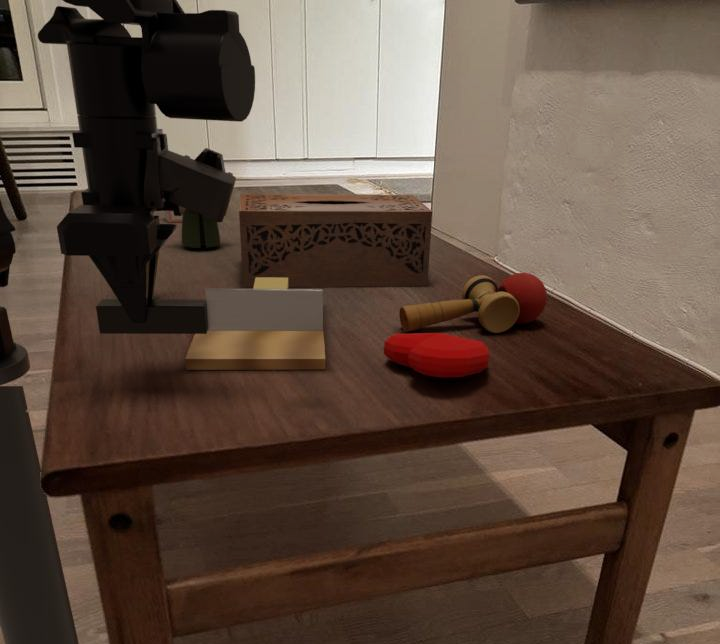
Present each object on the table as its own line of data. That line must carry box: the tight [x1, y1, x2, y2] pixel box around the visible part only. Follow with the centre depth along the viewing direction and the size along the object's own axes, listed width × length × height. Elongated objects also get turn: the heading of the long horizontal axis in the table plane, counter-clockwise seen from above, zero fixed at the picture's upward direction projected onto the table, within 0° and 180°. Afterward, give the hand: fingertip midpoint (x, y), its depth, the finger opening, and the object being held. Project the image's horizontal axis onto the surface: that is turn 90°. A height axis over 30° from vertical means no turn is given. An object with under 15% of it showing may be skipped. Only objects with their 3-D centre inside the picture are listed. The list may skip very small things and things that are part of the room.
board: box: [184, 330, 327, 371], centre depth 84 cm, size 14×22×1 cm, turn 4°
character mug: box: [181, 208, 221, 249], centre depth 119 cm, size 11×7×13 cm, turn 106°
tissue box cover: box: [238, 193, 433, 289], centre depth 106 cm, size 26×14×10 cm, turn 97°
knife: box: [95, 287, 324, 335], centre depth 63 cm, size 19×2×4 cm, turn 94°
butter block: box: [252, 277, 290, 289], centre depth 88 cm, size 4×7×3 cm, turn 4°
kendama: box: [398, 272, 548, 334], centre depth 87 cm, size 8×6×18 cm
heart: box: [383, 332, 490, 378], centre depth 74 cm, size 12×4×10 cm
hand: (142, 318), depth 63 cm, fingers closed on knife, 2 cm apart
